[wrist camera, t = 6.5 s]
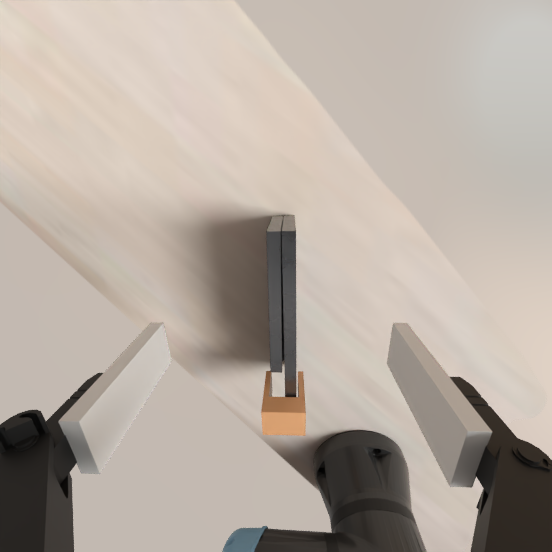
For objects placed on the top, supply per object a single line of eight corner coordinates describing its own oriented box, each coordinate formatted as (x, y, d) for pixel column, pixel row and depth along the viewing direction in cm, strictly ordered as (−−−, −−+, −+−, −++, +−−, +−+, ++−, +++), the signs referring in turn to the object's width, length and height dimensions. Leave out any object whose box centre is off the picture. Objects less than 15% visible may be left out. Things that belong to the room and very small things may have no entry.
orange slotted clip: (302, 391, 33) (305, 435, 28) (267, 391, 34) (262, 434, 28) (302, 371, 32) (305, 413, 27) (266, 371, 33) (261, 412, 27)
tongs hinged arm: (283, 327, 36) (282, 372, 28) (275, 327, 36) (270, 372, 28) (283, 215, 31) (280, 231, 22) (272, 216, 31) (266, 231, 23)
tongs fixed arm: (295, 364, 39) (296, 418, 30) (273, 364, 39) (269, 417, 30) (294, 215, 31) (295, 230, 22) (267, 215, 31) (259, 231, 23)
